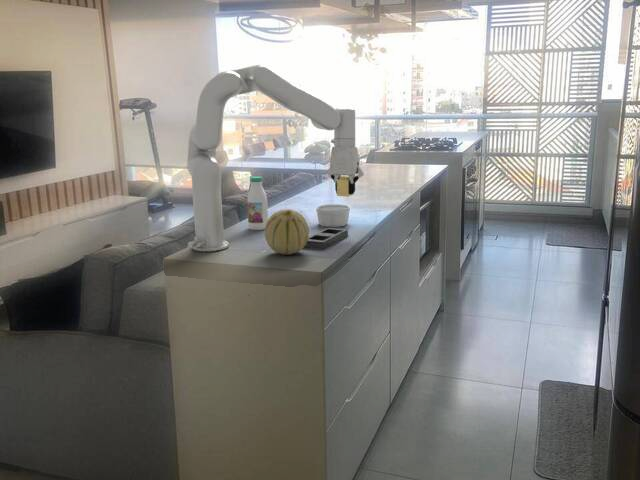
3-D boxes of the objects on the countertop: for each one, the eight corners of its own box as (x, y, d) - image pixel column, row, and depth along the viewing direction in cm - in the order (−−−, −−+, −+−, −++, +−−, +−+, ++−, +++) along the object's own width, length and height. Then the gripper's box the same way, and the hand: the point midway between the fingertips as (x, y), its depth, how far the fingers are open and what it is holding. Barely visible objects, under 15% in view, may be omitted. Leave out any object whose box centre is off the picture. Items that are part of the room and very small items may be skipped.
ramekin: (311, 222, 247) (311, 205, 245) (341, 219, 252) (341, 202, 250) (324, 229, 235) (324, 211, 233) (355, 225, 240) (355, 208, 238)
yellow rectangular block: (348, 196, 221) (348, 177, 220) (337, 195, 223) (336, 177, 222) (353, 194, 225) (353, 176, 224) (342, 193, 227) (342, 175, 226)
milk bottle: (258, 225, 244) (256, 174, 239) (272, 227, 240) (270, 176, 235) (244, 228, 239) (241, 177, 234) (258, 231, 234) (256, 179, 229)
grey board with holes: (323, 249, 206) (323, 242, 206) (302, 247, 210) (302, 240, 209) (347, 236, 223) (347, 229, 223) (328, 234, 227) (327, 227, 226)
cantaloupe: (290, 245, 212) (288, 202, 209) (319, 253, 202) (318, 208, 198) (255, 254, 203) (253, 209, 199) (284, 262, 192) (282, 215, 189)
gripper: (318, 143, 220) (319, 193, 225) (362, 144, 213) (362, 196, 217) (328, 141, 227) (328, 190, 231) (370, 142, 219) (370, 193, 224)
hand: (345, 192), depth 224 cm, fingers closed on yellow rectangular block, 4 cm apart
